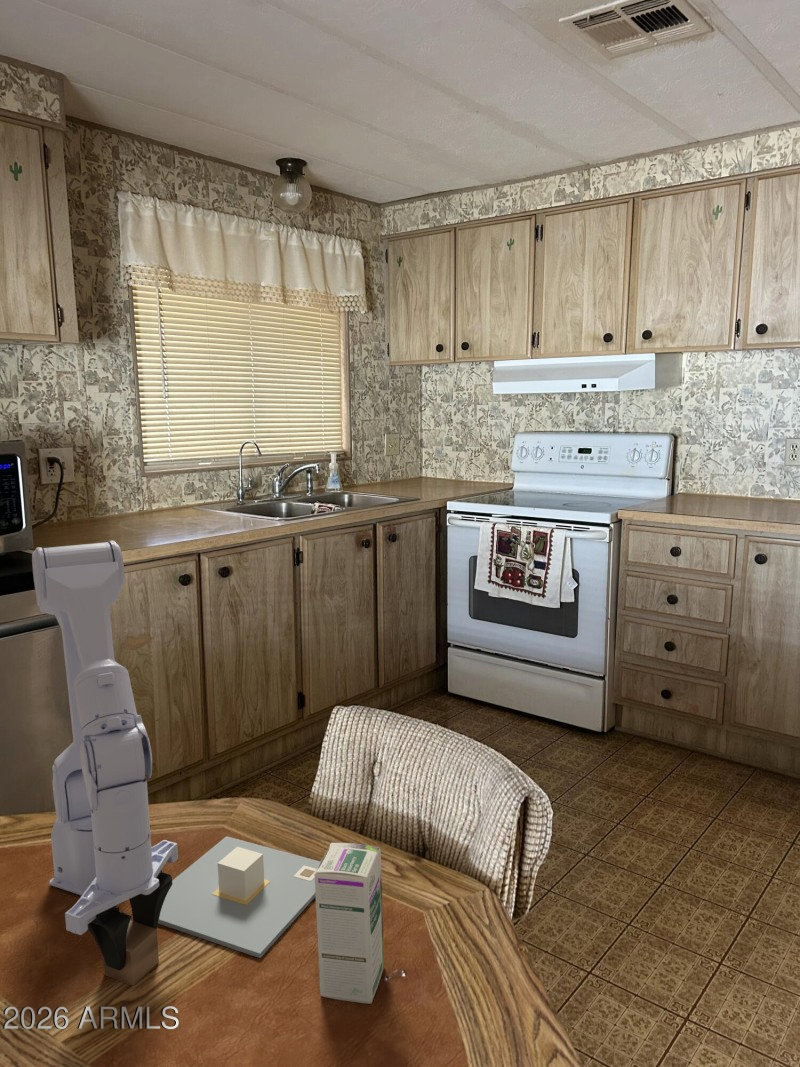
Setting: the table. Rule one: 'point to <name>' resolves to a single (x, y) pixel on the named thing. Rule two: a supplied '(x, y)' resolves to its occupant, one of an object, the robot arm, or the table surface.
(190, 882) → the board
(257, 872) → the cream block
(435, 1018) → the table surface
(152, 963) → the walnut block
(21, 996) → the table surface
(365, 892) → the syrup box
